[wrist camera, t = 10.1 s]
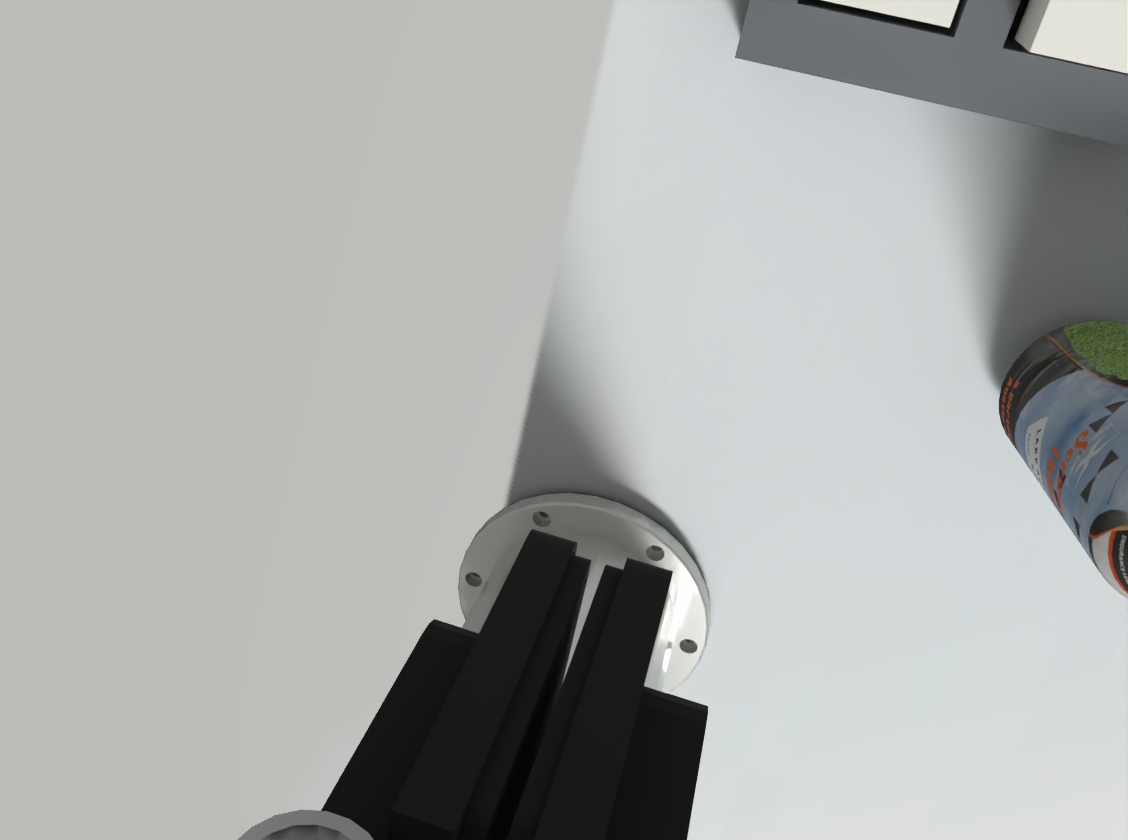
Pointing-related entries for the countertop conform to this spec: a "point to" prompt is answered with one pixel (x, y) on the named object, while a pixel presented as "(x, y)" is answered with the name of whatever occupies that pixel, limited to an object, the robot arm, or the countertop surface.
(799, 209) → the countertop surface
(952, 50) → the board
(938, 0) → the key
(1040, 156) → the countertop surface
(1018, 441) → the beverage can
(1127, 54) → the middle key
